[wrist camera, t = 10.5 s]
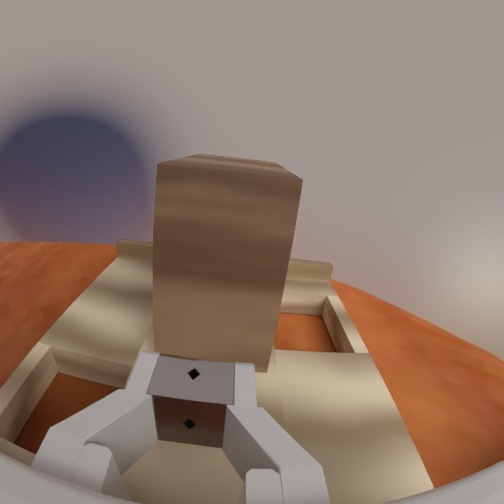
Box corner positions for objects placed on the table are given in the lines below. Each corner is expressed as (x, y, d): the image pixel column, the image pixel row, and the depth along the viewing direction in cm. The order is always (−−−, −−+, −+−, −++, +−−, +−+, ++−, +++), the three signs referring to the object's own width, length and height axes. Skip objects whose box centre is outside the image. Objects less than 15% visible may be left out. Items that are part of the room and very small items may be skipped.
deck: (430, 561, 6) (480, 531, 5) (-37, 502, 4) (-80, 459, 3) (322, 295, 30) (330, 262, 29) (121, 272, 29) (120, 238, 28)
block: (267, 373, 16) (303, 179, 12) (154, 359, 15) (157, 163, 12) (258, 279, 27) (275, 162, 24) (189, 271, 27) (199, 154, 23)
